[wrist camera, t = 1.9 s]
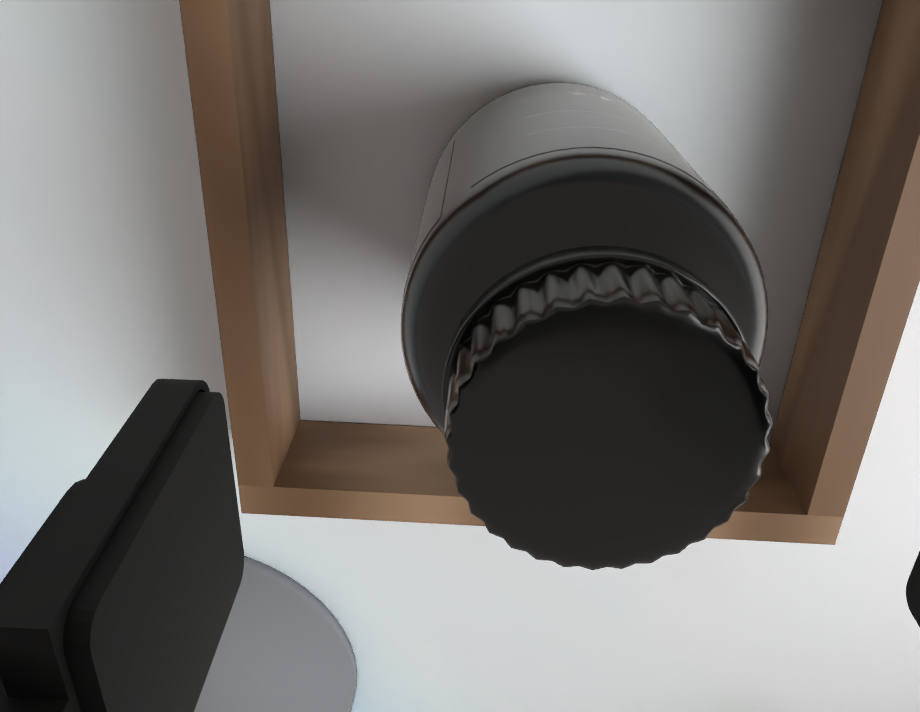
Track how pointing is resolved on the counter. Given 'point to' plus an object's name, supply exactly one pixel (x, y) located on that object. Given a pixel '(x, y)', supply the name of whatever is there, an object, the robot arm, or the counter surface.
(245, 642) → the mat
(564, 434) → the supplement bottle
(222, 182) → the bin
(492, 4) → the counter surface
